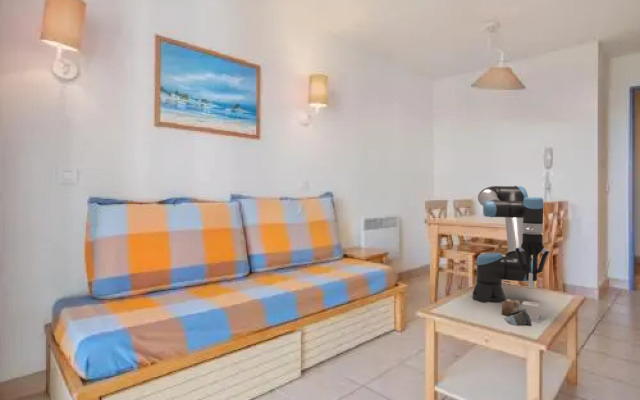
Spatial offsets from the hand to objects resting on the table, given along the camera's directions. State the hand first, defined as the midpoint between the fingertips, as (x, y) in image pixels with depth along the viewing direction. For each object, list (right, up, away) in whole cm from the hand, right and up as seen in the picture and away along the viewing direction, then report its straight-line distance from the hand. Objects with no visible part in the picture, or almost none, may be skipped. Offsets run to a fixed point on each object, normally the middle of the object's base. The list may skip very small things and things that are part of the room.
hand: (531, 288), depth 159 cm
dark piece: (-10, -14, -4) cm, 18 cm away
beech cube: (-3, -13, +10) cm, 17 cm away
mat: (0, -13, +1) cm, 13 cm away
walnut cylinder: (-9, -13, +4) cm, 16 cm away
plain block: (0, -13, +1) cm, 13 cm away
